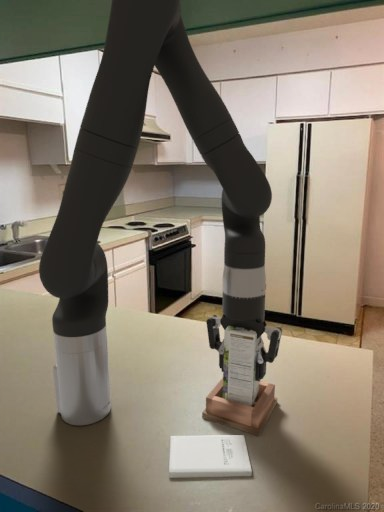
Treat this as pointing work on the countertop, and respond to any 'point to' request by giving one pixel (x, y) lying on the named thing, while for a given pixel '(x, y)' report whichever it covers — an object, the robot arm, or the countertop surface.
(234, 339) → the syrup box
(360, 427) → the countertop surface
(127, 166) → the robot arm
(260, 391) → the socket
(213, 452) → the external hard drive
